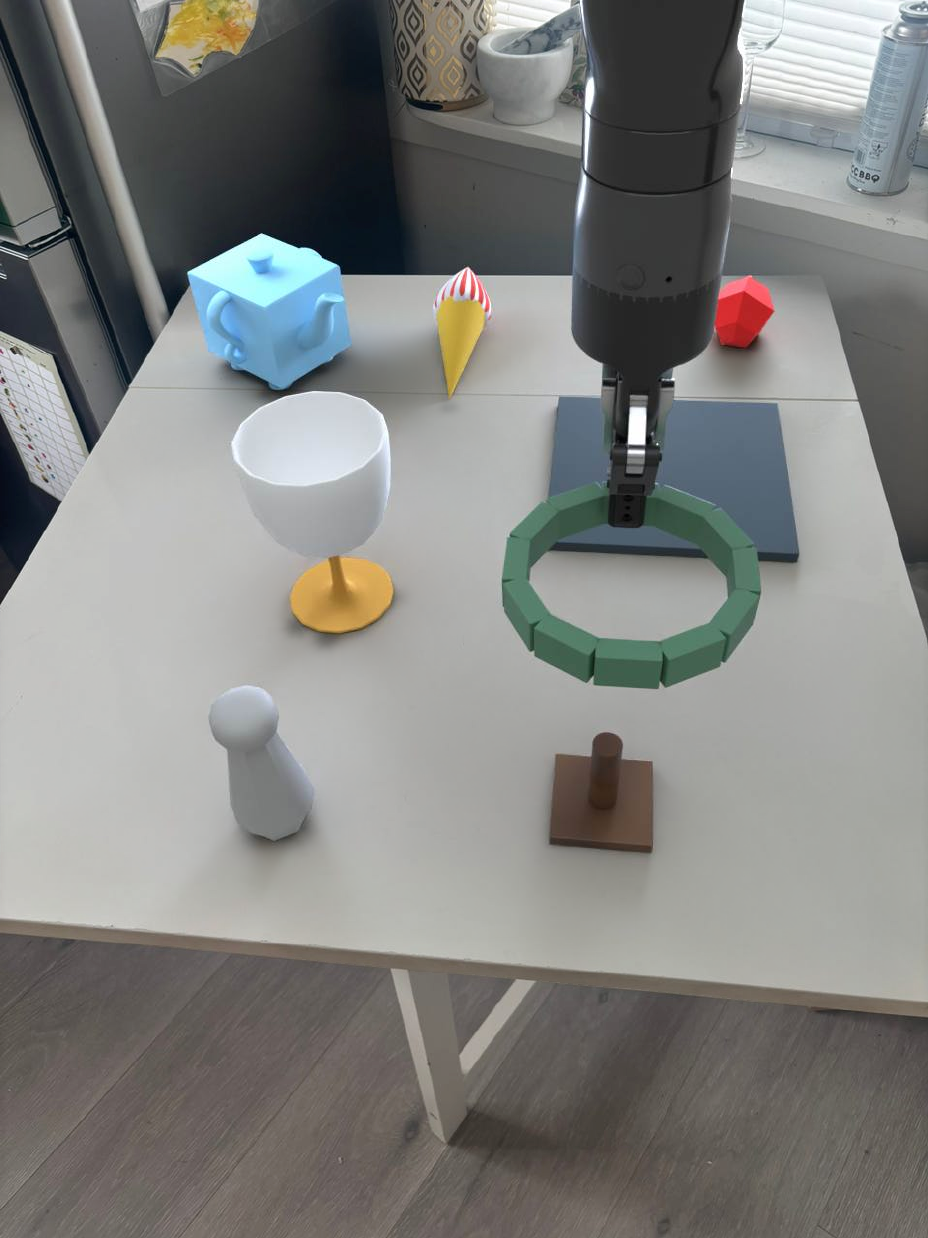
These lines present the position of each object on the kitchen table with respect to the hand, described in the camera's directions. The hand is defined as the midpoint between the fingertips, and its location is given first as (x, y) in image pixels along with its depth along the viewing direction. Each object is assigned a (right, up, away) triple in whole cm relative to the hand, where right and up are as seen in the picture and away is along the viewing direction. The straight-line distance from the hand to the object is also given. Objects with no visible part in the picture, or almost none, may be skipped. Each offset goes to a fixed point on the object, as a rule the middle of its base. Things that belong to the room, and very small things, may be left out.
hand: (625, 512), depth 62 cm
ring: (-1, -5, -4) cm, 7 cm away
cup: (-21, -5, +24) cm, 32 cm away
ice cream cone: (-11, +24, +49) cm, 55 cm away
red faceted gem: (+20, +25, +48) cm, 58 cm away
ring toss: (0, -20, +8) cm, 22 cm away
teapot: (-28, +21, +48) cm, 59 cm away
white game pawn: (-24, -21, +9) cm, 33 cm away
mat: (+9, +7, +32) cm, 34 cm away
